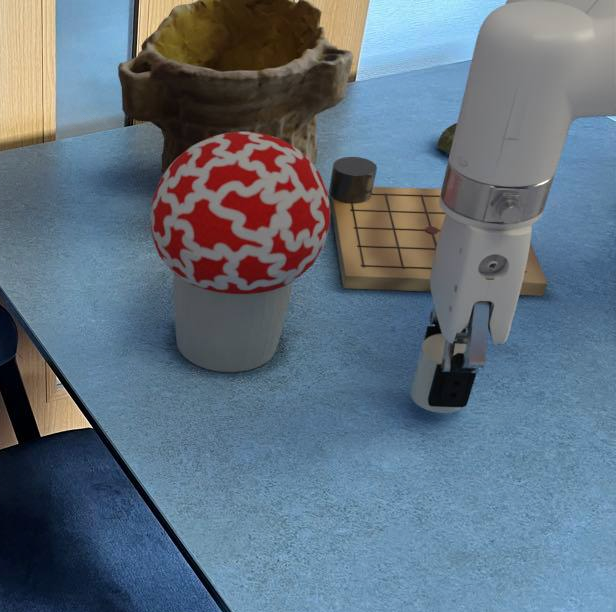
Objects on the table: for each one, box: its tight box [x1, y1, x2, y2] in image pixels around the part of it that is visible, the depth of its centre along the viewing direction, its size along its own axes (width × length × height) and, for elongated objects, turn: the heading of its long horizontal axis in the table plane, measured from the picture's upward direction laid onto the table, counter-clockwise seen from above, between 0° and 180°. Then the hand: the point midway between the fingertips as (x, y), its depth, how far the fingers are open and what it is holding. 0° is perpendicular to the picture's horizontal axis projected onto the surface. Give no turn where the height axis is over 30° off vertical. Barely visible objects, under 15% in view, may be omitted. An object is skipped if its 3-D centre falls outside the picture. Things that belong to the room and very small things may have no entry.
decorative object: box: [149, 132, 331, 373], centre depth 92 cm, size 16×16×20 cm
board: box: [328, 186, 548, 297], centre depth 112 cm, size 20×20×2 cm
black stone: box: [328, 156, 378, 203], centre depth 116 cm, size 5×5×3 cm
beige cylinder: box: [410, 334, 466, 414], centre depth 89 cm, size 5×5×5 cm
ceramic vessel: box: [117, 0, 354, 175], centre depth 113 cm, size 23×24×25 cm
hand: (442, 383), depth 90 cm, fingers closed on beige cylinder, 4 cm apart
